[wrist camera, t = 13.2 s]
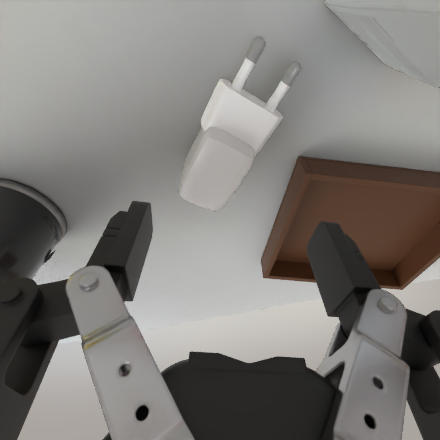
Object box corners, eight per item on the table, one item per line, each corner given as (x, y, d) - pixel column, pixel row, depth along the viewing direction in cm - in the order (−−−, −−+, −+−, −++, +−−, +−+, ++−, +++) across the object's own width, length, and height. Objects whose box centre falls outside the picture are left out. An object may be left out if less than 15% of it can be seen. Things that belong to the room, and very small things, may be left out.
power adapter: (242, 20, 16) (247, 29, 11) (301, 62, 17) (326, 84, 13) (178, 158, 22) (166, 197, 18) (224, 180, 24) (224, 220, 20)
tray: (260, 260, 32) (263, 278, 30) (298, 156, 22) (305, 172, 20) (391, 271, 33) (402, 289, 31) (486, 177, 23) (511, 195, 21)
